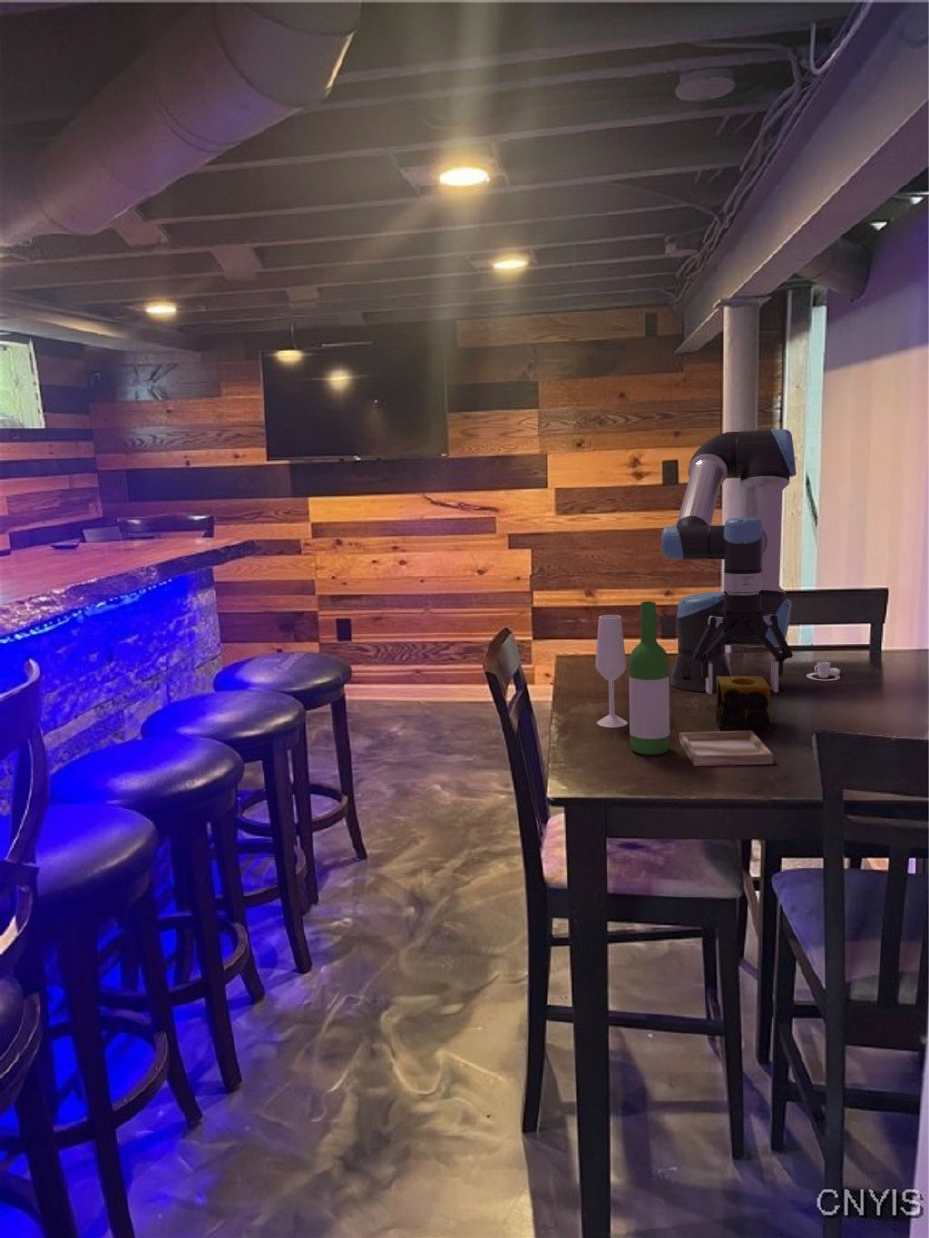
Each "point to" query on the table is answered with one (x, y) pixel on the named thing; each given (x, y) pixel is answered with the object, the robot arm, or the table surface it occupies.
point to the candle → (743, 704)
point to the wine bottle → (649, 689)
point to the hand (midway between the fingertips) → (741, 691)
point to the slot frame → (725, 748)
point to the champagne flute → (610, 661)
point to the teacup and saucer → (825, 671)
